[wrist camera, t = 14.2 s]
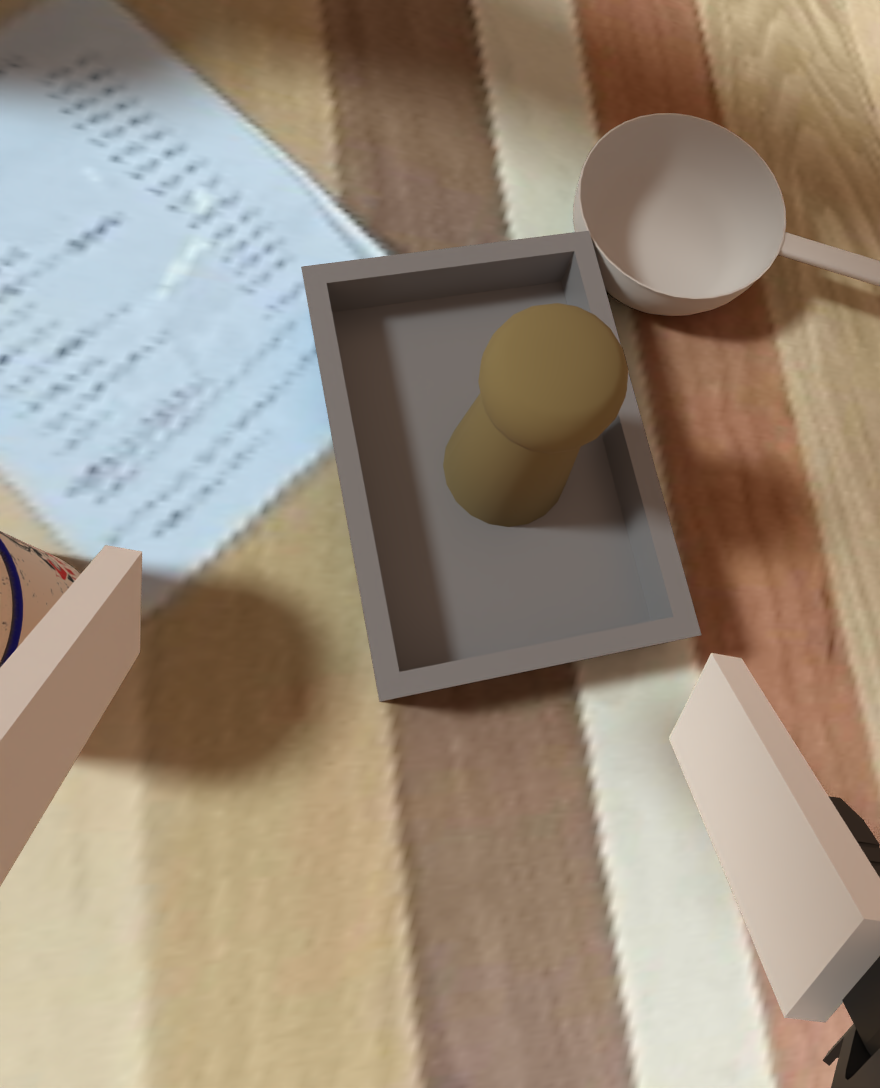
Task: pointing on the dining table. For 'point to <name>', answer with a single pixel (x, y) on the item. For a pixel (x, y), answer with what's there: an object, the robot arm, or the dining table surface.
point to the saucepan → (689, 216)
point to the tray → (427, 503)
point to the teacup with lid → (27, 589)
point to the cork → (534, 412)
